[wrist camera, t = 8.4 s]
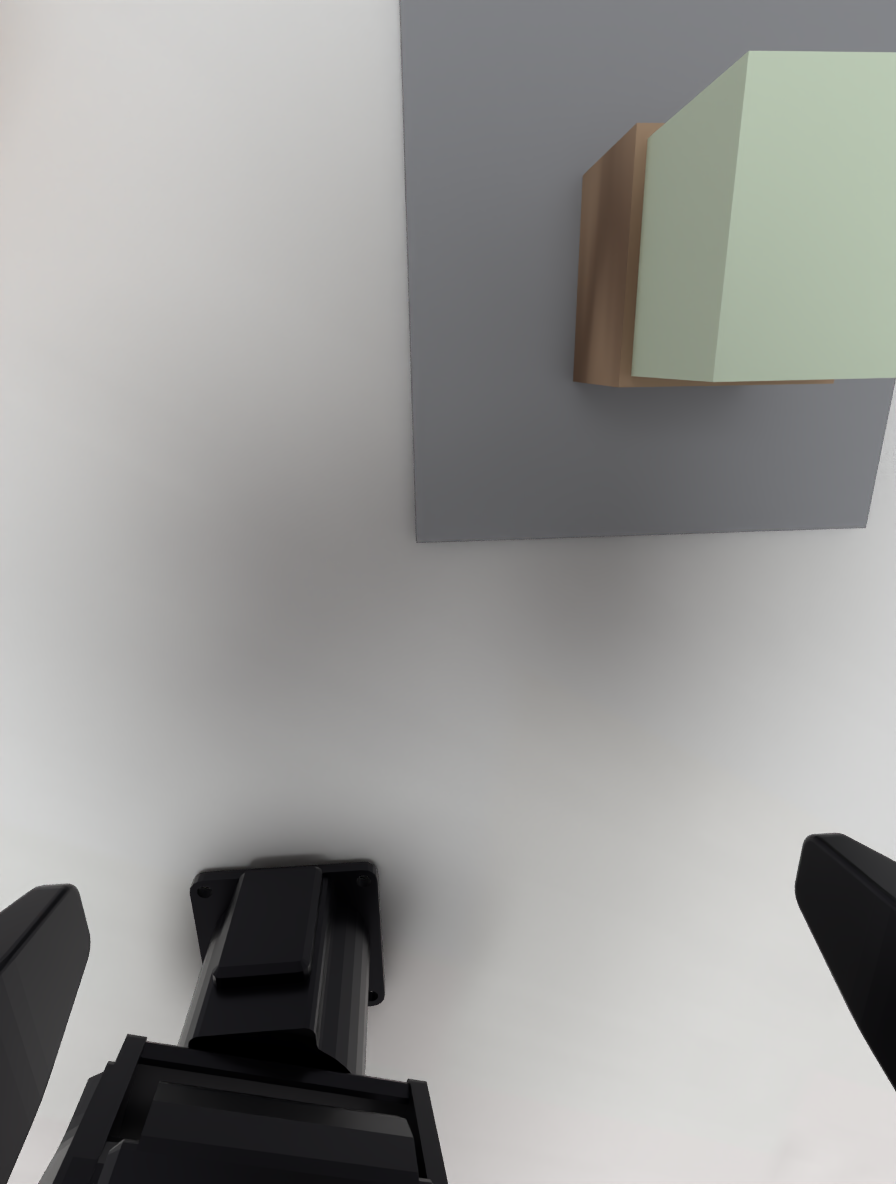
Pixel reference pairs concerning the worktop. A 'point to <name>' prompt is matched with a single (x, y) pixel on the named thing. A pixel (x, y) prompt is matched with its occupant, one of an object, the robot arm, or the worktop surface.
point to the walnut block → (617, 269)
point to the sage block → (773, 225)
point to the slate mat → (550, 278)
